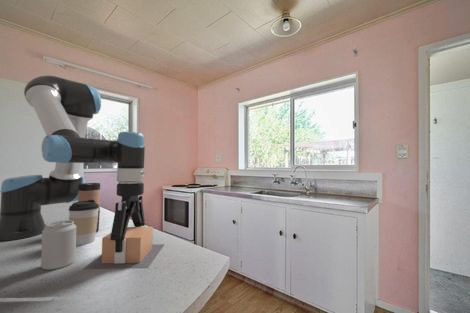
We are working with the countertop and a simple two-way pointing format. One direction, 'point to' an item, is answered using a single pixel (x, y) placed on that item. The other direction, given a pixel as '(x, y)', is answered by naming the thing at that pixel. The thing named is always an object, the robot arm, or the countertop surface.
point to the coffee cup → (84, 220)
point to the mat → (143, 264)
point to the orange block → (129, 245)
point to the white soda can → (58, 245)
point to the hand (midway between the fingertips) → (129, 254)
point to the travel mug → (90, 195)
